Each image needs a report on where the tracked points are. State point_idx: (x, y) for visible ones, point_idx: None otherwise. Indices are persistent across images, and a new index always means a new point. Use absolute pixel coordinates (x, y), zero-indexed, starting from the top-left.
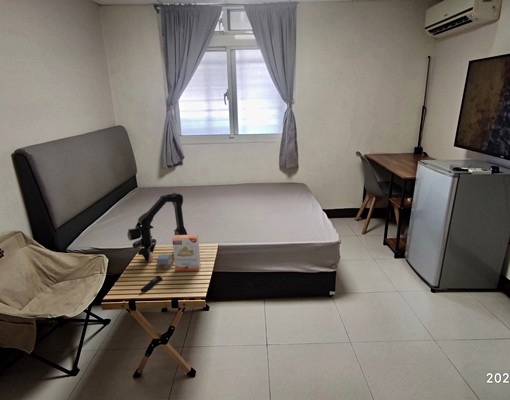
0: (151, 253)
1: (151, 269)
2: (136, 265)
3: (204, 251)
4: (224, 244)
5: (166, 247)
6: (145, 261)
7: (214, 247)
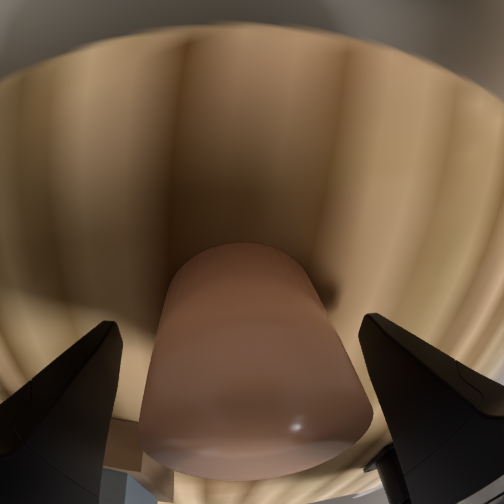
0: (245, 475)
1: (18, 369)
2: (42, 134)
3: (318, 495)
4: (357, 496)
5: (500, 344)
6: (190, 263)
7: (345, 494)
